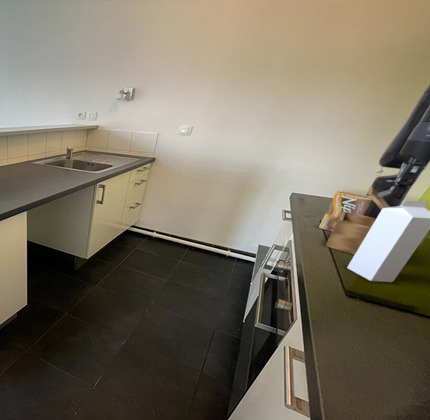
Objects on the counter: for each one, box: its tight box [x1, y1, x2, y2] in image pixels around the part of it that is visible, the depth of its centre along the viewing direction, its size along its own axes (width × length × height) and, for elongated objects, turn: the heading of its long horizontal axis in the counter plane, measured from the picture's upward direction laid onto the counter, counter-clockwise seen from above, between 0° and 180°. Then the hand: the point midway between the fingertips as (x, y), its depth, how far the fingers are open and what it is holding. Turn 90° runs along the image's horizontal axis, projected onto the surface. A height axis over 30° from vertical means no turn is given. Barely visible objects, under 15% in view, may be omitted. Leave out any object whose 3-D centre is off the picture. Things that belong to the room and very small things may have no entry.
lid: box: [367, 186, 395, 210], centre depth 74 cm, size 13×15×5 cm
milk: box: [346, 200, 430, 283], centre depth 64 cm, size 6×6×22 cm
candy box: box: [318, 190, 372, 232], centre depth 92 cm, size 9×4×15 cm, turn 33°
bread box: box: [325, 211, 377, 256], centre depth 81 cm, size 13×15×10 cm
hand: (393, 196), depth 75 cm, fingers open, 5 cm apart
